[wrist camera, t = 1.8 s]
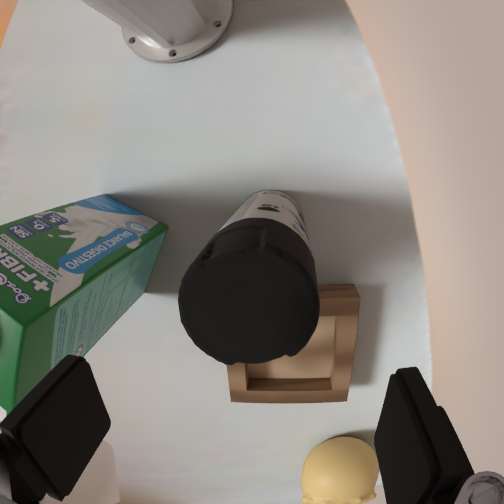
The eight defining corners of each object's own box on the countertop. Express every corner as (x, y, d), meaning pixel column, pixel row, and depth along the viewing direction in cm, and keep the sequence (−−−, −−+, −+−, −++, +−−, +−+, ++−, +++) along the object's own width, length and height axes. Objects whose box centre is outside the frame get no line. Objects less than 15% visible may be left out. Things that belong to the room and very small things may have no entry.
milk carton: (168, 226, 34) (-4, 349, 10) (144, 293, 37) (11, 441, 13) (103, 193, 34) (-87, 259, 10) (84, 259, 37) (-69, 362, 13)
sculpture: (297, 471, 44) (296, 522, 34) (306, 428, 41) (307, 487, 31) (363, 469, 43) (370, 518, 33) (381, 425, 40) (395, 480, 30)
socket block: (226, 285, 36) (220, 299, 32) (353, 284, 34) (360, 297, 31) (235, 384, 40) (231, 401, 36) (343, 383, 38) (346, 401, 35)
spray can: (308, 246, 33) (334, 360, 14) (245, 258, 34) (199, 378, 15) (295, 183, 32) (310, 222, 13) (230, 197, 33) (154, 256, 14)
